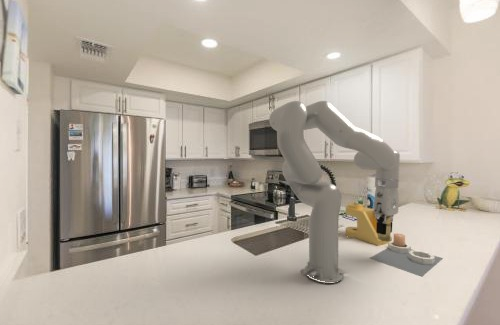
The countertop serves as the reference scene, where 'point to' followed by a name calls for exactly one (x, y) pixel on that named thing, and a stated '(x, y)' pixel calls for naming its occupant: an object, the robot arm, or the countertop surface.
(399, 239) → the joined fitting
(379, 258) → the mat
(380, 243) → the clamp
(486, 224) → the countertop surface
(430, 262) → the white octagonal ring
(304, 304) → the countertop surface
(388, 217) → the gold rounded cylinder
